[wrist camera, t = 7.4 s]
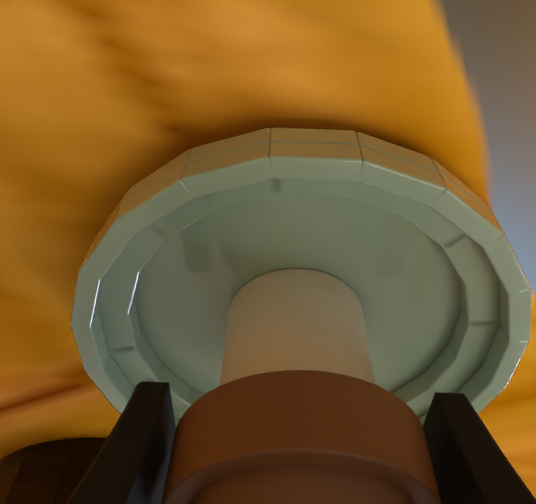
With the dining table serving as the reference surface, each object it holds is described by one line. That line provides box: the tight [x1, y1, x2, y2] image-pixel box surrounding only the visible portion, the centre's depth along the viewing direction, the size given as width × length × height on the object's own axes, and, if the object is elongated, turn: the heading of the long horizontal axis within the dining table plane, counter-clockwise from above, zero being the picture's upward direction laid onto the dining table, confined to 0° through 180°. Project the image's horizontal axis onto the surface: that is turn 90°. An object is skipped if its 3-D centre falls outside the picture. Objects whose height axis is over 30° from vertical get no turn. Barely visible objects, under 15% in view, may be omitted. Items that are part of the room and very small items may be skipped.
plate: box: [70, 128, 531, 427], centre depth 13 cm, size 11×11×2 cm
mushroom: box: [161, 268, 442, 504], centre depth 11 cm, size 5×5×7 cm
